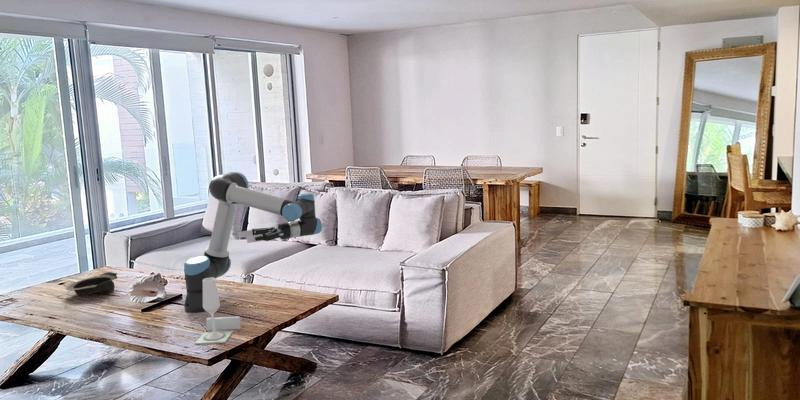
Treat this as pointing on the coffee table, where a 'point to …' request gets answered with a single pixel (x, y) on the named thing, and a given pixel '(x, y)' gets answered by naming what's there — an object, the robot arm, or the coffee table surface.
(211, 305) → the champagne flute
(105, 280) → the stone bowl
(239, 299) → the coffee table surface
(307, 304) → the coffee table surface
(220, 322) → the low wall
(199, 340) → the resting pad
